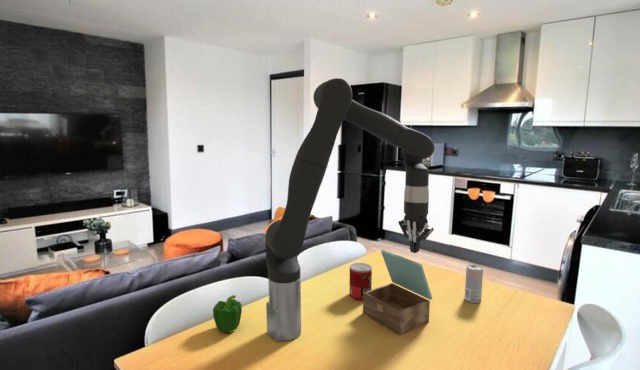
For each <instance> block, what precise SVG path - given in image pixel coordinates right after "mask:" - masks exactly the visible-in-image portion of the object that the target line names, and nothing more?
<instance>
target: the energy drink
mask: <svg viewBox="0 0 640 370" xmlns="http://www.w3.org/2000/svg"><path fill="white" fill-rule="evenodd" d="M483 276H484V269H483V267H482V266H480V265H477V264H468V265H466V269H465V284H464V285H465V286H464V300H466V301H465V302H468V303H470V304H479V303H481V302H482V292H483V280H484V279H483V278H484V277H483Z"/></svg>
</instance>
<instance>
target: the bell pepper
mask: <svg viewBox="0 0 640 370" xmlns="http://www.w3.org/2000/svg"><path fill="white" fill-rule="evenodd" d="M236 297H237V295H236V294H232V295H230V296H228V297H227V299H226V301H224V300H223V301H222V300H218V302H217V303H216V304H215V305H214V307H213V309H212V315H213V319H214V322H215V326H216V328H217V330H218V331H219V330H221V331H220V332H222V331H223V333H224V332H230V331H233V330H235V329H236V330H237V329H238V327H239V325H240V321H241V318H242V311H243V310H242V308H243V306H242V303H241V301H237V300H236ZM236 330H235V331H236ZM233 332H234V331H233Z"/></svg>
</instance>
